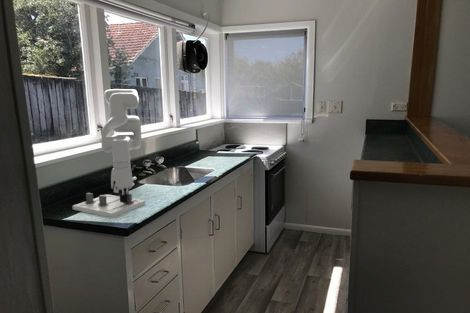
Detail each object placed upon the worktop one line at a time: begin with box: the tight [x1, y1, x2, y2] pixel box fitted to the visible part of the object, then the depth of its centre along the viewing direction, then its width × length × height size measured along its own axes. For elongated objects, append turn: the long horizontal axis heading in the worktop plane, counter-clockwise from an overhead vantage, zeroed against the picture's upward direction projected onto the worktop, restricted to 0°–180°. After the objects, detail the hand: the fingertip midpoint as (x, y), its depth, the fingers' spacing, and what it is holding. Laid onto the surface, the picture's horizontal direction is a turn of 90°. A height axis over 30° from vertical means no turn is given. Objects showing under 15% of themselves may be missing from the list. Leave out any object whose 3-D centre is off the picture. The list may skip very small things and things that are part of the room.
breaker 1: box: [84, 192, 95, 204], centre depth 181 cm, size 3×4×4 cm
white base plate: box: [72, 194, 146, 218], centre depth 181 cm, size 22×26×2 cm
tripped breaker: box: [126, 193, 134, 204], centre depth 180 cm, size 3×4×4 cm
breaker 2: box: [98, 194, 109, 206], centre depth 177 cm, size 3×4×4 cm
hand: (123, 202), depth 177 cm, fingers closed
